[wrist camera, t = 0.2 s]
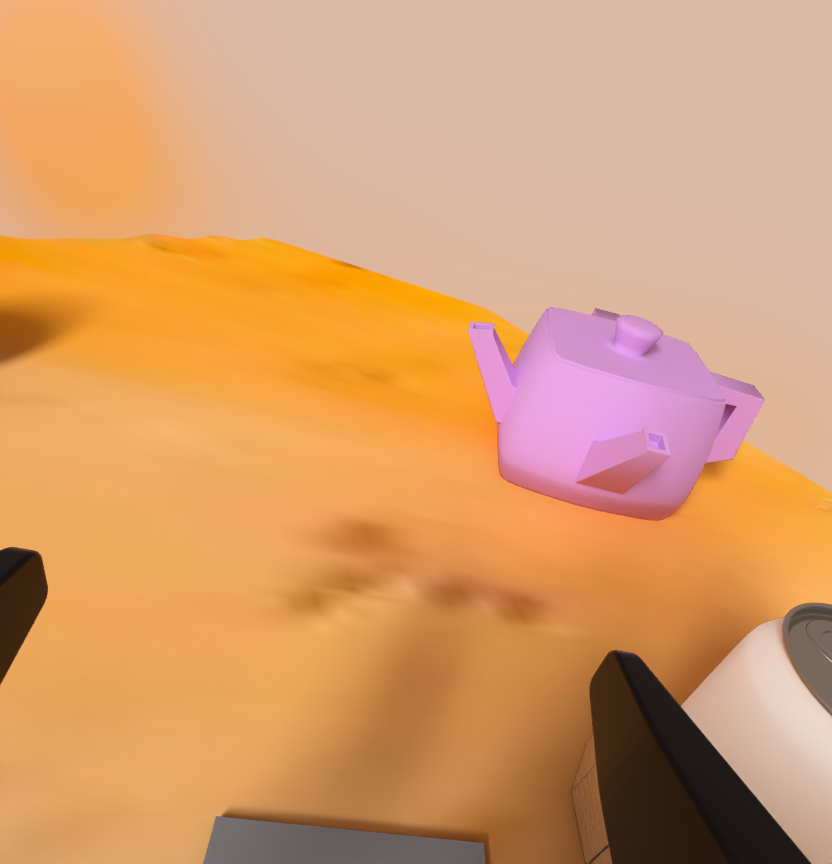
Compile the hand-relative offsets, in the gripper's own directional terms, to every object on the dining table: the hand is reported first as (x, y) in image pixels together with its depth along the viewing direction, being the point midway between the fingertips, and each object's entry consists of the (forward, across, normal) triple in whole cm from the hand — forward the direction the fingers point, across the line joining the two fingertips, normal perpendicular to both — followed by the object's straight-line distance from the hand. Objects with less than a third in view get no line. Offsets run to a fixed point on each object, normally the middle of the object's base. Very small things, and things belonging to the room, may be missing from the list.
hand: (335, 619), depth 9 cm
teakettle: (+31, -17, +15) cm, 38 cm away
